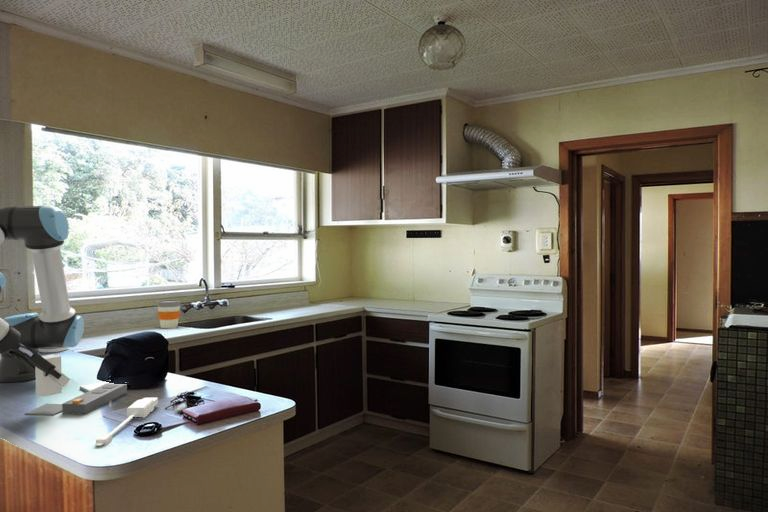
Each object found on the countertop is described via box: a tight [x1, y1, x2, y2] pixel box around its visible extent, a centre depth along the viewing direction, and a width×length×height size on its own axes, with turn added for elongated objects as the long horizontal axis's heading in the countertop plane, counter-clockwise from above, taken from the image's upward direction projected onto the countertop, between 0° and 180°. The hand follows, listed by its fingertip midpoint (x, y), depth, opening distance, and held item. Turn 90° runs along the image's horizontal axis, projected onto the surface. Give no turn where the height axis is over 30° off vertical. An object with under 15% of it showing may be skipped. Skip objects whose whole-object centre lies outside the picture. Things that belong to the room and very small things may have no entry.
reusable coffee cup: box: [156, 299, 181, 329], centre depth 308 cm, size 13×13×15 cm
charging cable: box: [94, 397, 159, 447], centre depth 150 cm, size 5×32×3 cm, turn 1°
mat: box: [24, 403, 63, 416], centre depth 162 cm, size 9×9×1 cm
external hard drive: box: [79, 381, 114, 393], centre depth 186 cm, size 2×8×12 cm
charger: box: [35, 353, 63, 397], centre depth 161 cm, size 5×5×11 cm
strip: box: [61, 383, 128, 415], centre depth 173 cm, size 30×7×4 cm, turn 175°
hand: (61, 381), depth 164 cm, fingers closed on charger, 5 cm apart
